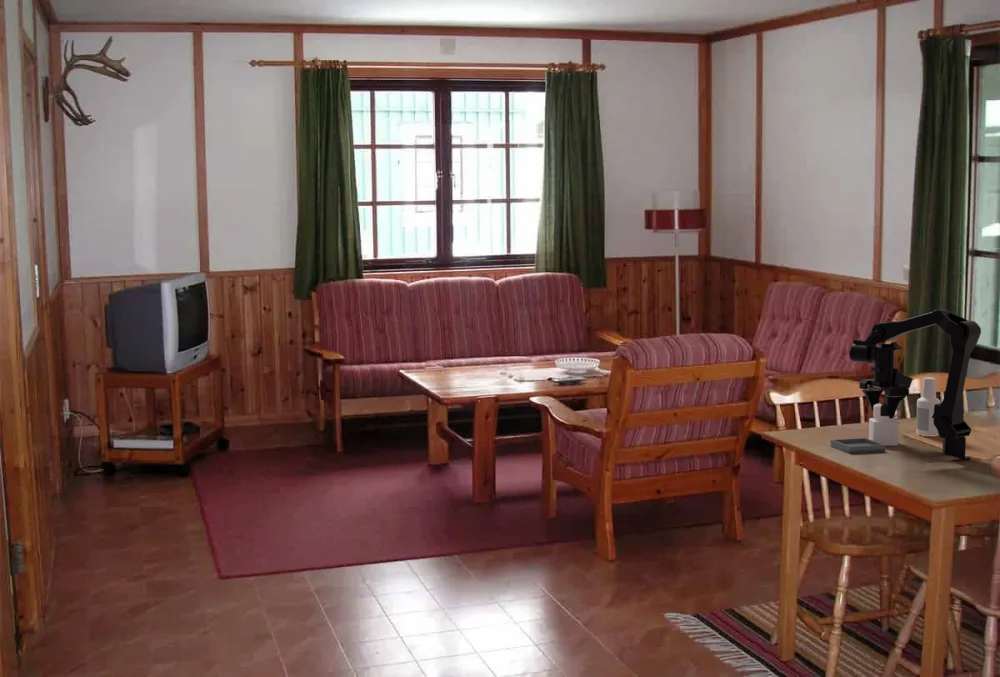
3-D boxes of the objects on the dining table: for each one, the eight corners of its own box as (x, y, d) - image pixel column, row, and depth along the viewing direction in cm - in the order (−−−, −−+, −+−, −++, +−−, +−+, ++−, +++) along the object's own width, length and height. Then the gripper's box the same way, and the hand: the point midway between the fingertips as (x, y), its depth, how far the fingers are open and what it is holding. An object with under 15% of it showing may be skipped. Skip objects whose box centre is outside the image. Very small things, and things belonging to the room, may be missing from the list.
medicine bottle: (892, 441, 359) (893, 402, 358) (898, 445, 352) (899, 405, 351) (868, 441, 360) (869, 401, 358) (873, 445, 353) (874, 405, 351)
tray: (885, 451, 344) (885, 444, 344) (849, 453, 341) (849, 446, 341) (865, 444, 355) (865, 437, 354) (830, 446, 352) (830, 439, 352)
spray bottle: (919, 433, 372) (921, 375, 370) (942, 435, 368) (943, 377, 366) (913, 436, 366) (914, 378, 365) (936, 438, 363) (937, 380, 361)
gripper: (926, 366, 347) (925, 419, 349) (892, 359, 366) (891, 410, 367) (891, 368, 345) (890, 421, 347) (858, 361, 363) (858, 411, 365)
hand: (883, 416), depth 356 cm, fingers open, 9 cm apart
